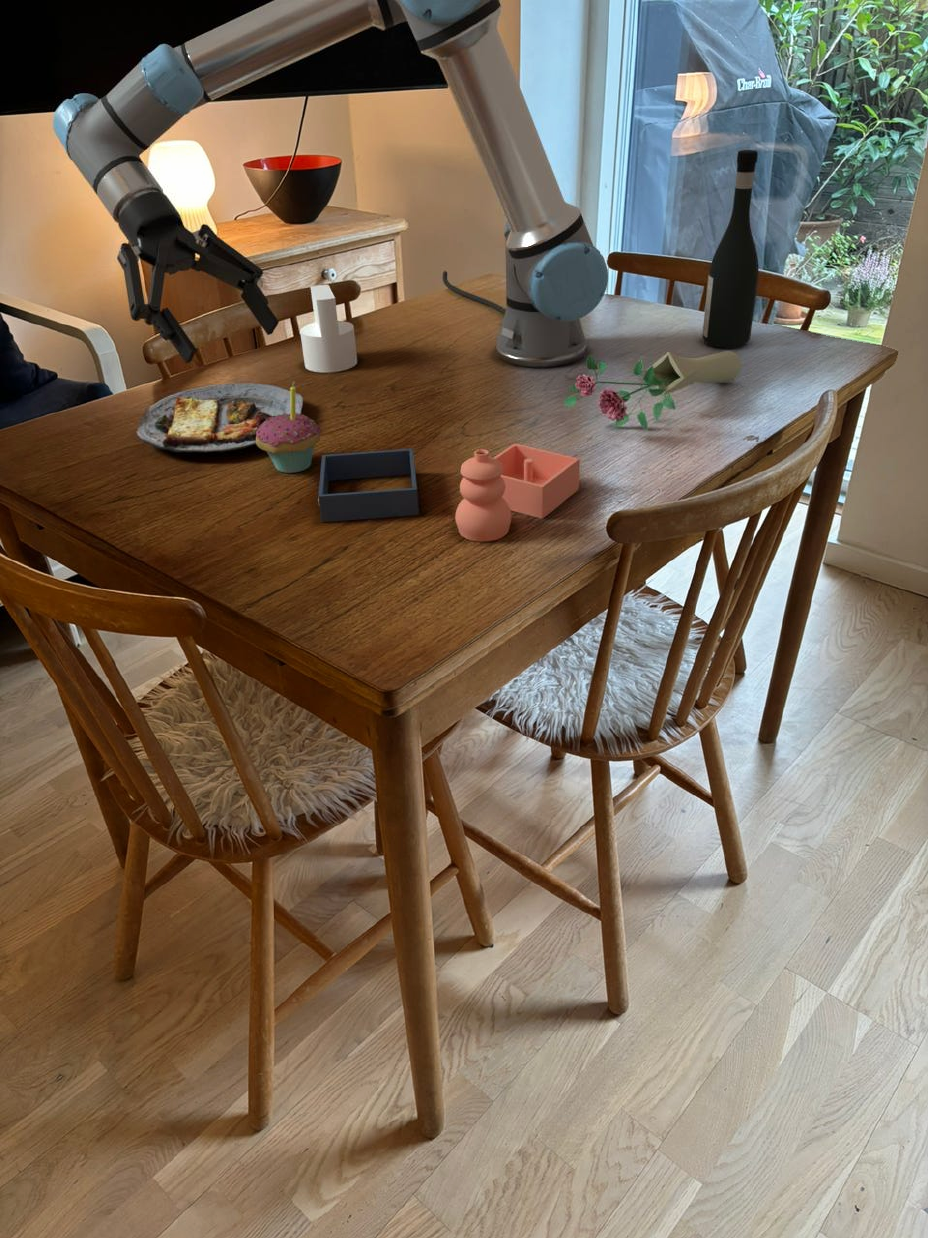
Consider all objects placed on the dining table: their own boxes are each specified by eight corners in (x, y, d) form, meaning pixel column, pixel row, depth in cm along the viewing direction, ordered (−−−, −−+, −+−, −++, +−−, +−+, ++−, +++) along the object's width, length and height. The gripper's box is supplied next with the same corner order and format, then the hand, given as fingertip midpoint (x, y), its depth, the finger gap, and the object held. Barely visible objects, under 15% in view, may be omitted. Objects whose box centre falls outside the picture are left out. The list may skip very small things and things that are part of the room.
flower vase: (730, 435, 150) (609, 464, 125) (670, 395, 155) (543, 415, 130) (768, 367, 143) (649, 383, 118) (705, 328, 148) (577, 335, 123)
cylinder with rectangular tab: (361, 368, 160) (353, 296, 153) (307, 375, 158) (298, 302, 152) (353, 352, 167) (345, 282, 161) (302, 358, 166) (292, 287, 159)
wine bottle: (693, 344, 163) (712, 152, 147) (715, 332, 168) (736, 145, 152) (736, 353, 159) (760, 156, 142) (757, 340, 164) (784, 148, 147)
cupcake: (334, 456, 131) (323, 371, 124) (307, 482, 124) (294, 394, 117) (278, 450, 133) (265, 367, 126) (249, 476, 127) (233, 389, 120)
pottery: (514, 473, 124) (513, 401, 119) (578, 489, 120) (581, 415, 114) (434, 530, 112) (429, 454, 106) (502, 551, 107) (500, 472, 102)
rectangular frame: (324, 479, 125) (321, 454, 123) (414, 472, 125) (412, 448, 123) (321, 522, 115) (317, 496, 113) (419, 515, 115) (417, 489, 114)
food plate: (296, 458, 131) (293, 434, 129) (126, 469, 130) (120, 445, 128) (308, 393, 151) (305, 371, 149) (161, 402, 151) (156, 380, 149)
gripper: (209, 211, 135) (294, 333, 135) (49, 247, 120) (146, 385, 120) (225, 173, 129) (314, 301, 130) (60, 206, 114) (161, 352, 114)
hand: (234, 342), depth 125 cm, fingers open, 13 cm apart
